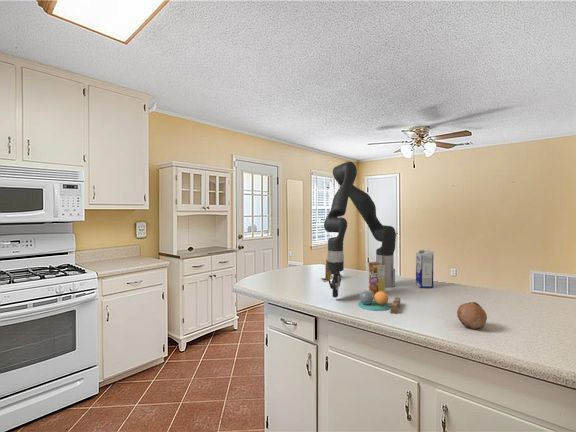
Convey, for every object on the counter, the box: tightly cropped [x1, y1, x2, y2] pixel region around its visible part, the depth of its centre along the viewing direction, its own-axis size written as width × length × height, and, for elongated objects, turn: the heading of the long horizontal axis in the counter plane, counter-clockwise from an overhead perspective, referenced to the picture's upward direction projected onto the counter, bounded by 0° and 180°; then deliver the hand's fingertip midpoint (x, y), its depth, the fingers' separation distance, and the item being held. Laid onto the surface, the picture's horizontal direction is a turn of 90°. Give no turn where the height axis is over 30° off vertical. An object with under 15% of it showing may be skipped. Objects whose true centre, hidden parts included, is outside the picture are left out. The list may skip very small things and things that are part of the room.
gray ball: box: [359, 290, 374, 305], centre depth 143 cm, size 6×6×6 cm
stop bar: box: [390, 296, 401, 315], centre depth 138 cm, size 14×2×3 cm, turn 153°
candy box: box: [368, 261, 386, 295], centre depth 161 cm, size 9×4×15 cm, turn 17°
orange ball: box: [373, 291, 389, 305], centre depth 142 cm, size 6×6×6 cm
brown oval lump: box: [456, 301, 488, 330], centre depth 116 cm, size 10×9×10 cm
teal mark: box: [357, 300, 391, 312], centre depth 142 cm, size 14×14×1 cm
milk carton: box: [415, 249, 435, 289], centre depth 175 cm, size 7×7×20 cm
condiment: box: [320, 259, 331, 282], centre depth 191 cm, size 7×8×12 cm
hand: (335, 297), depth 150 cm, fingers closed
